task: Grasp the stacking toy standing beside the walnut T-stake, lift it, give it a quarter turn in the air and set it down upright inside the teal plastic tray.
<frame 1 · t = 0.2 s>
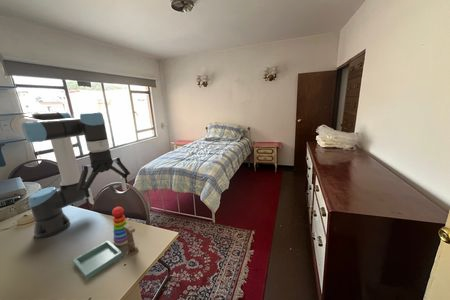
hand: (109, 196, 83), 27 cm above the table, fingers open, 13 cm apart
stacking toy: (123, 241, 94), on the table
tray: (99, 260, 83), on the table
t stake: (132, 251, 87), on the table
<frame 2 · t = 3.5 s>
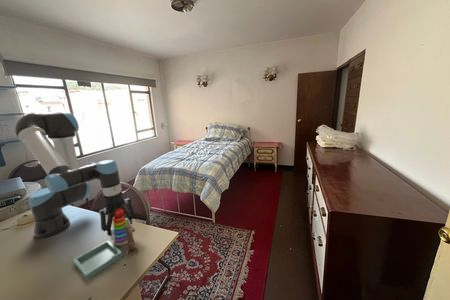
hand: (121, 235, 93), 4 cm above the table, fingers closed on stacking toy, 7 cm apart
stacking toy: (123, 241, 94), on the table, touching gripper
when the fingers open (6 cm above the table, at t = 9.6 s): stacking toy drops 1 cm, resting on tray.
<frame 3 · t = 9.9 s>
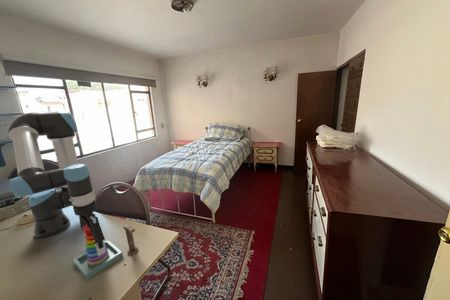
hand: (96, 247, 81), 7 cm above the table, fingers open, 11 cm apart
stacking toy: (98, 259, 83), resting on tray
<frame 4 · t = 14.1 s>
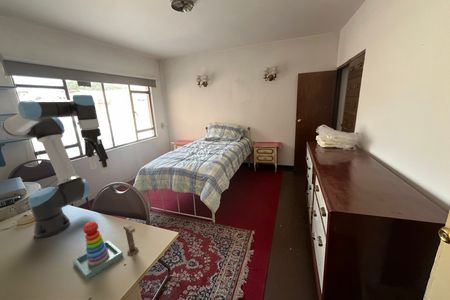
hand: (99, 171, 94), 35 cm above the table, fingers open, 13 cm apart
nothing on the table moved.
at the end: stacking toy inside the target area on the tray (0.1 cm from its centre), point 0.3 cm above the tray's base; stacking toy tilted 0°; the gripper is holding nothing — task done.
